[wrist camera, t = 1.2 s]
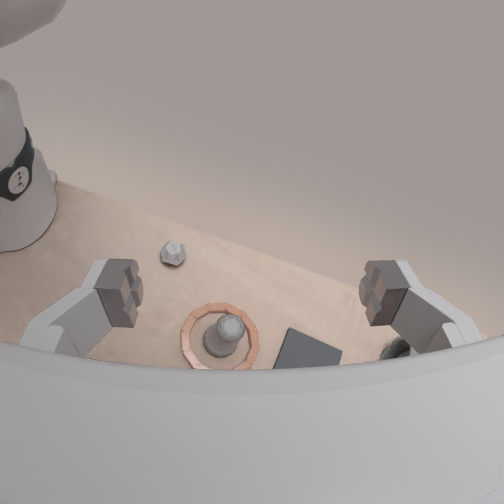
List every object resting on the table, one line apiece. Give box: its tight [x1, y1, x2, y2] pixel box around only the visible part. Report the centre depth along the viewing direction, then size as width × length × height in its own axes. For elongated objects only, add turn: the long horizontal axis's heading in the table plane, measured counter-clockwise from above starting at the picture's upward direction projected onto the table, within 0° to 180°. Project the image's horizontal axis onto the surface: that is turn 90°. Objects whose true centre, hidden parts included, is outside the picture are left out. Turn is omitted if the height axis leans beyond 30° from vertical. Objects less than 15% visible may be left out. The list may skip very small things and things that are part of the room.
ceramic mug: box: [380, 336, 418, 360], centre depth 40 cm, size 11×8×8 cm
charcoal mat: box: [273, 328, 343, 369], centre depth 38 cm, size 9×12×1 cm
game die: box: [160, 241, 186, 266], centre depth 41 cm, size 4×4×3 cm
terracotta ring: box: [181, 303, 260, 370], centre depth 38 cm, size 10×10×1 cm
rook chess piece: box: [203, 314, 245, 357], centre depth 35 cm, size 4×4×8 cm
